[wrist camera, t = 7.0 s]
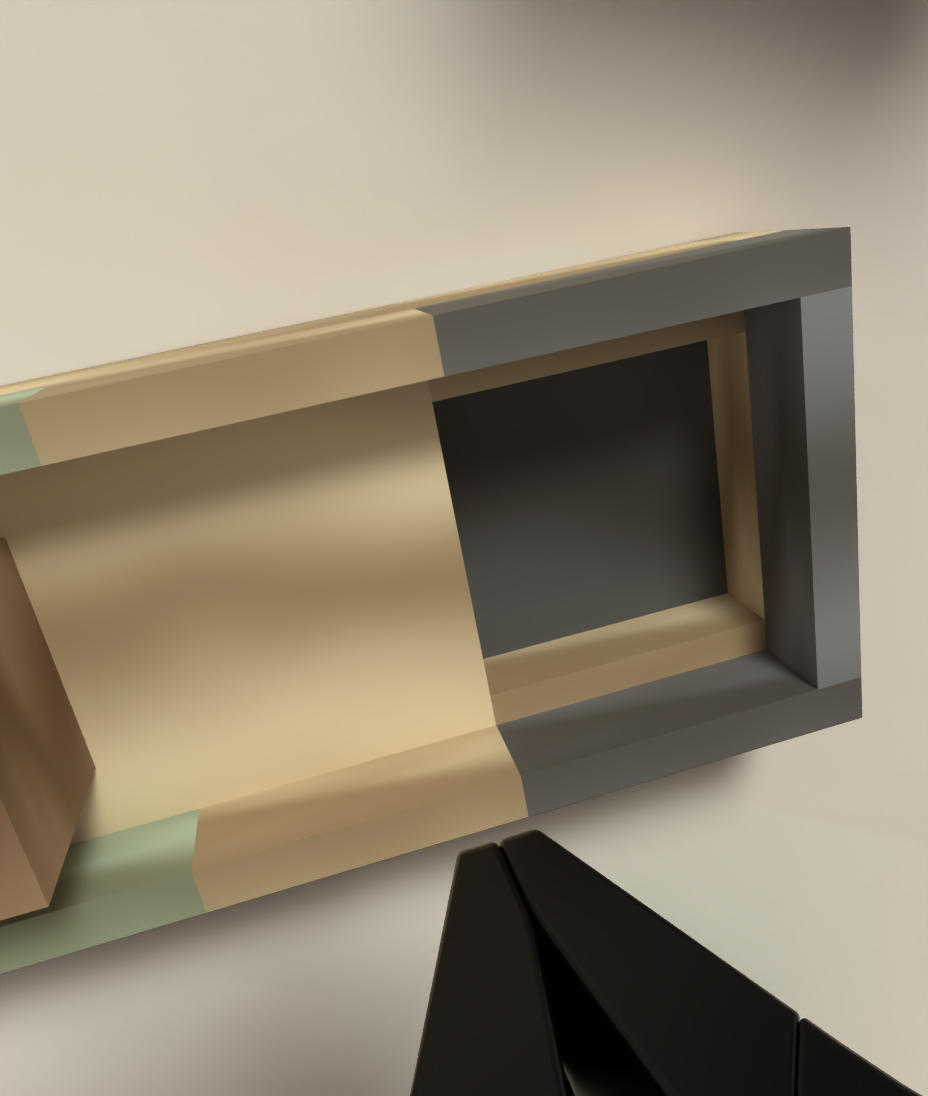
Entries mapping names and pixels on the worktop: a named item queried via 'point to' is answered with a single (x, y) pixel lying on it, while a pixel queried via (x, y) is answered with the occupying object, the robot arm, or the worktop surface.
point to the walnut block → (34, 755)
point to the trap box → (436, 566)
